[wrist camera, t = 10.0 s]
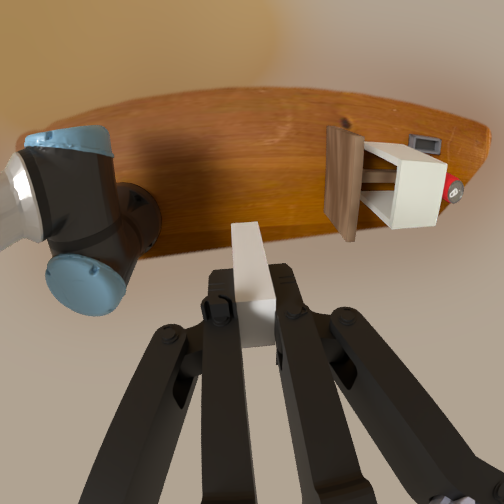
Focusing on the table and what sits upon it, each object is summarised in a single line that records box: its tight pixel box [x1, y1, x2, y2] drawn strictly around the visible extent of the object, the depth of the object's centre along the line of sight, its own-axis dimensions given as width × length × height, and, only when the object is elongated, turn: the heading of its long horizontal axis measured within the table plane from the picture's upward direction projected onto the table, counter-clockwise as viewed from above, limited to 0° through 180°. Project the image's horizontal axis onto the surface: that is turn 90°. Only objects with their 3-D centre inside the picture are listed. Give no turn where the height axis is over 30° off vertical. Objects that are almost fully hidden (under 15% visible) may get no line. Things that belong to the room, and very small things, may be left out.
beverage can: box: [442, 172, 464, 204], centre depth 45 cm, size 5×5×12 cm
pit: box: [408, 134, 441, 155], centre depth 46 cm, size 8×3×2 cm, turn 93°
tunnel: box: [360, 142, 447, 229], centre depth 44 cm, size 10×11×14 cm
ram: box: [324, 126, 397, 242], centre depth 44 cm, size 20×17×12 cm
